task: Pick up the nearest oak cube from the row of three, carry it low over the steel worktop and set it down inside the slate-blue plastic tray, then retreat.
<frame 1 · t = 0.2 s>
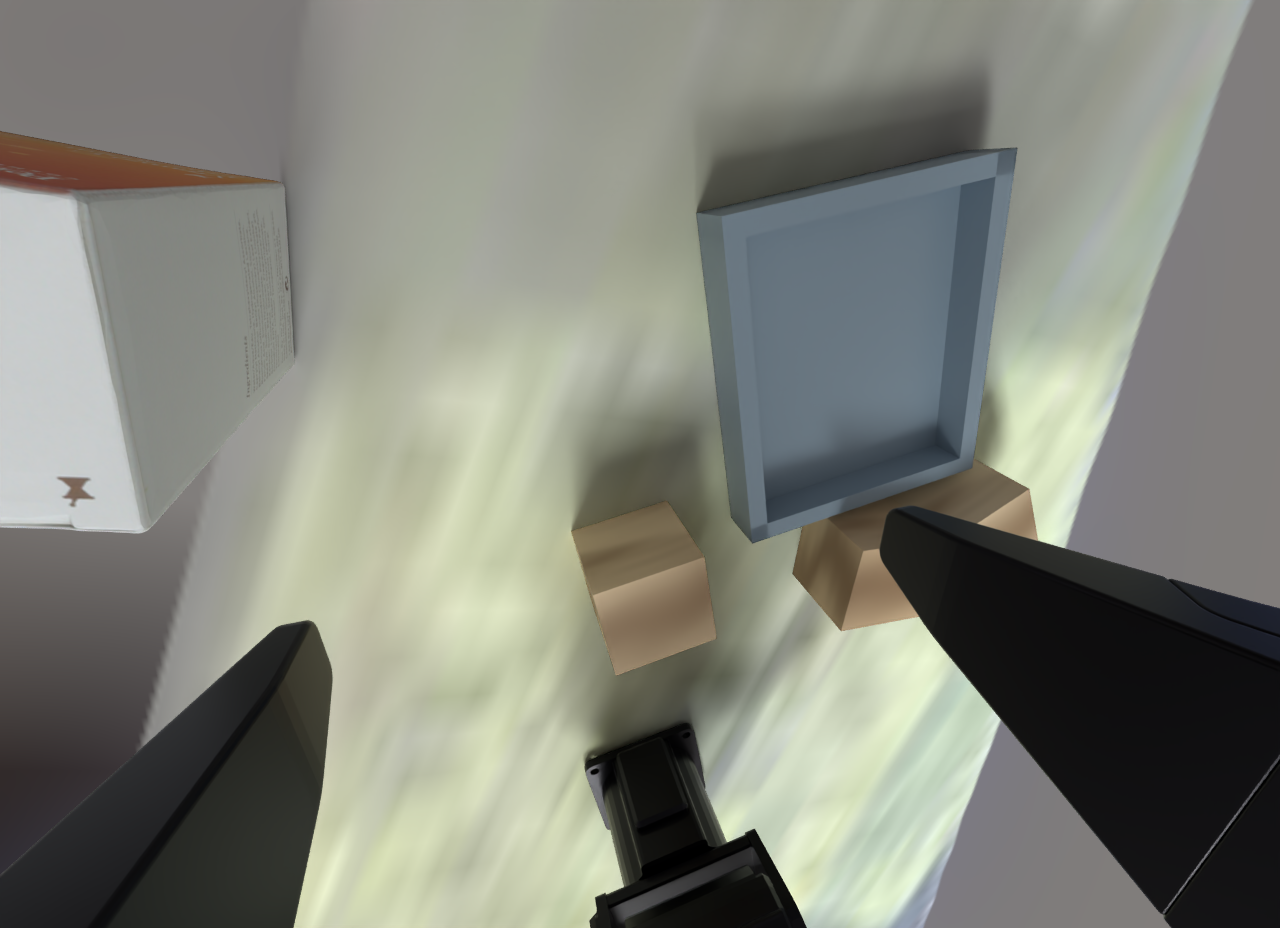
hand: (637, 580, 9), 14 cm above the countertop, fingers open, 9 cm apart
small box: (138, 256, 16), on the countertop
tray: (838, 351, 24), on the countertop
oak cube a: (628, 553, 26), on the countertop
oak cube c: (926, 500, 30), on the countertop
oak cube b: (836, 532, 30), on the countertop
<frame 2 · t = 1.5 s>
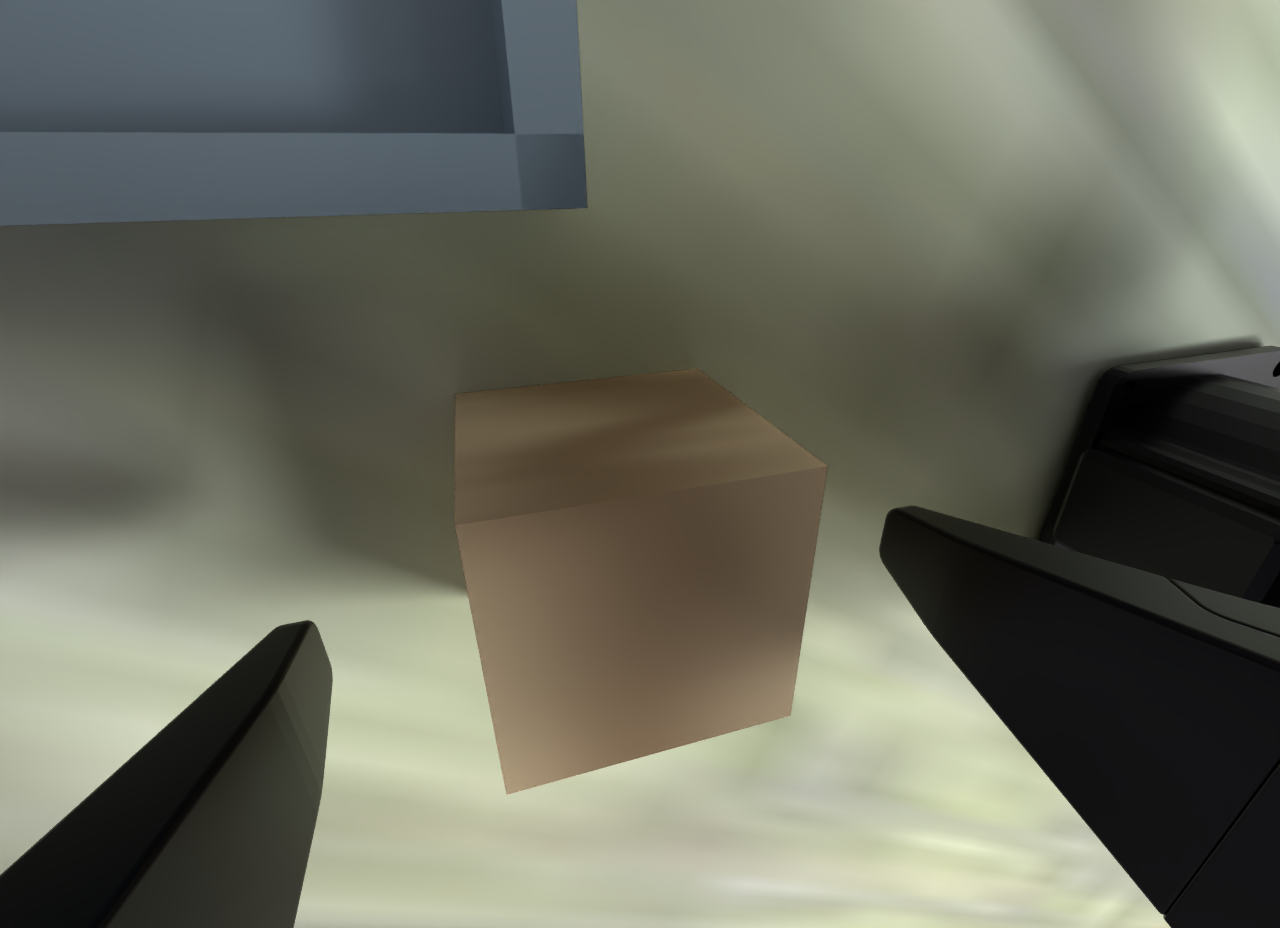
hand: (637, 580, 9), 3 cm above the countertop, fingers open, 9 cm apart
oak cube a: (588, 485, 11), on the countertop
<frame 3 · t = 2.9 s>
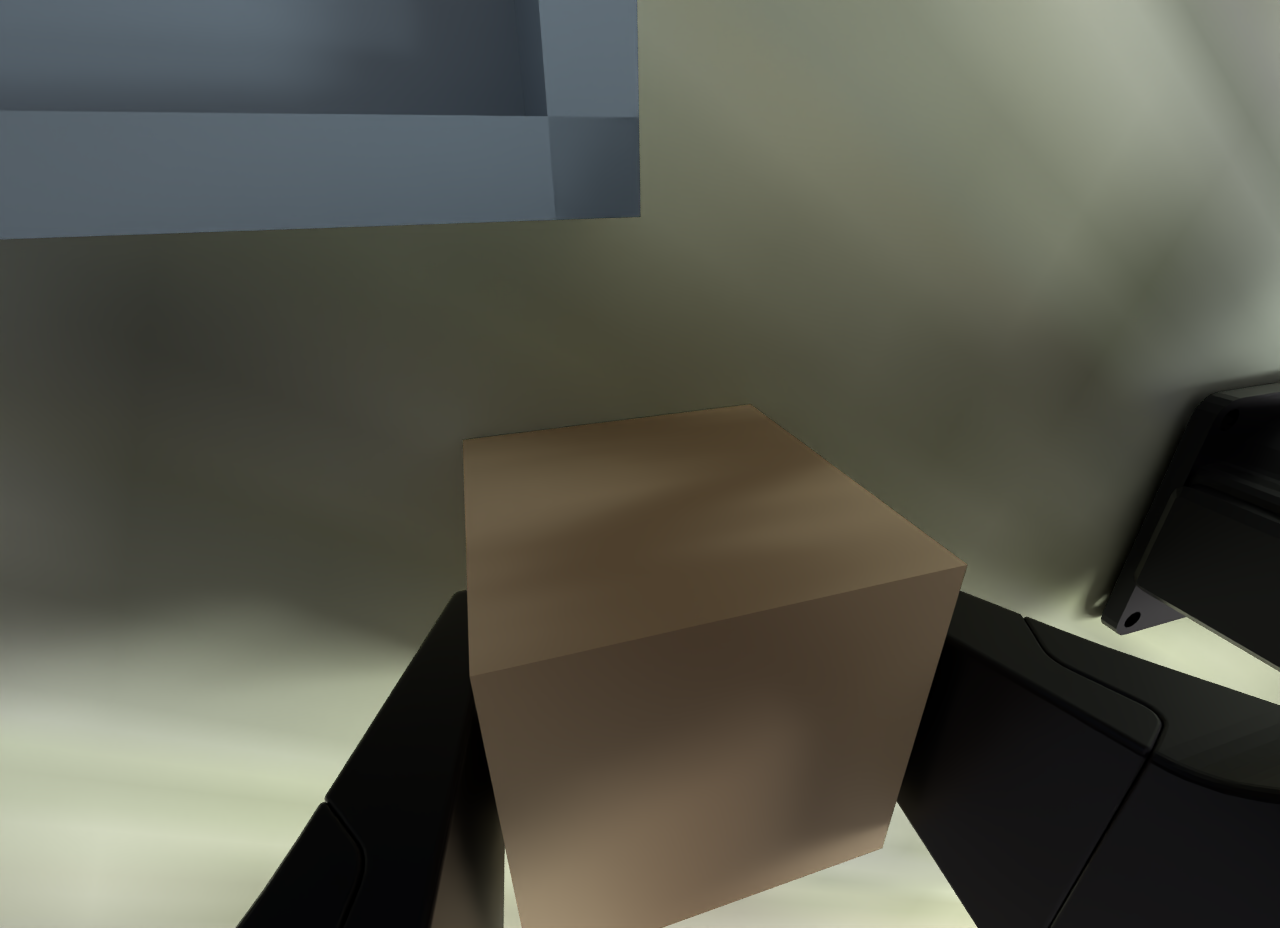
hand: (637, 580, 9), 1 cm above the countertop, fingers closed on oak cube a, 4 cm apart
oak cube a: (620, 543, 10), on the countertop, touching gripper
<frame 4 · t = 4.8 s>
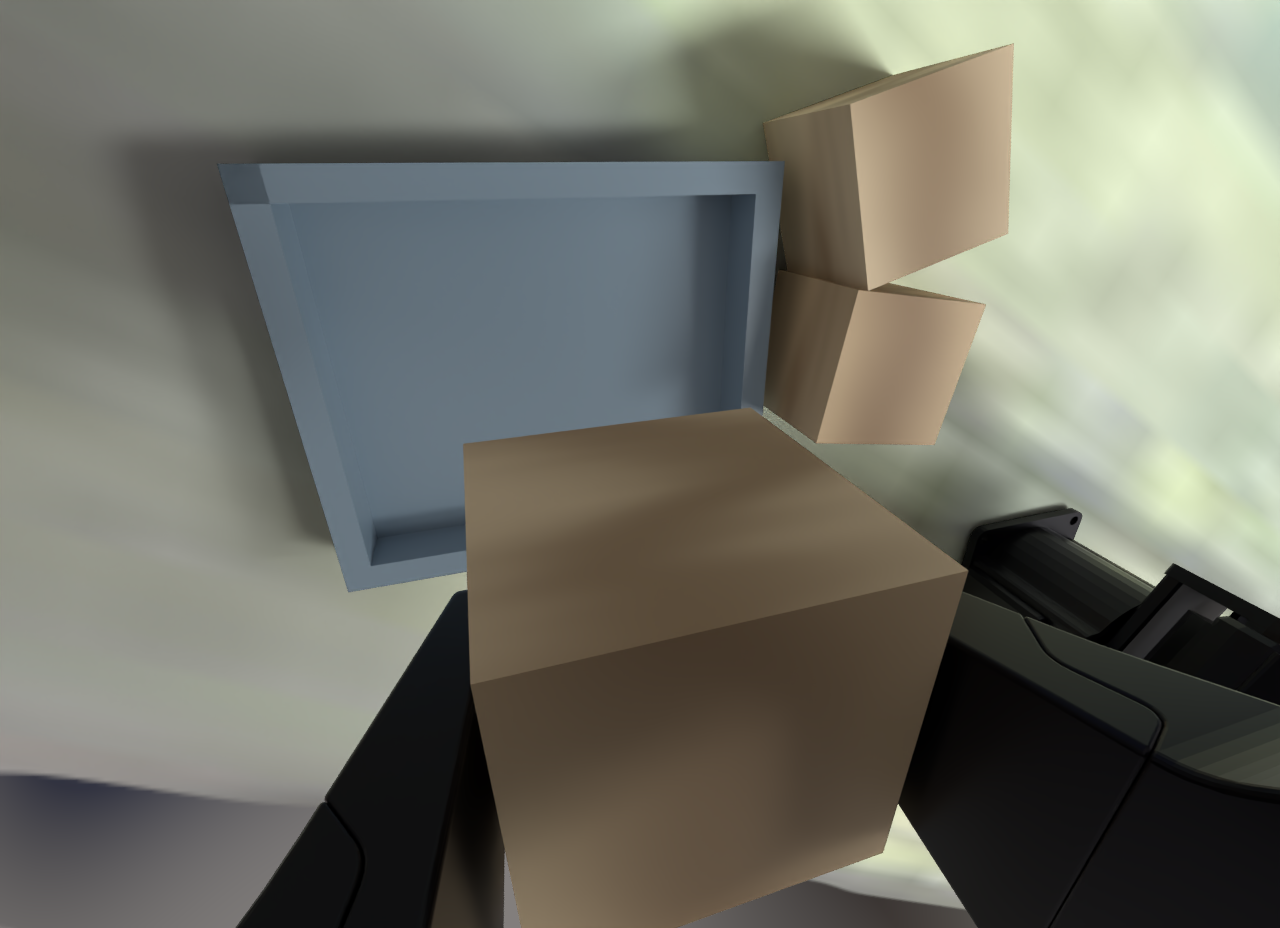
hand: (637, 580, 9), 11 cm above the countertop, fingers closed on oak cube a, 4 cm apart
tray: (544, 368, 18), on the countertop
oak cube a: (620, 546, 10), point 10 cm above the countertop, touching gripper
oak cube c: (835, 177, 18), on the countertop
oak cube b: (817, 339, 21), on the countertop
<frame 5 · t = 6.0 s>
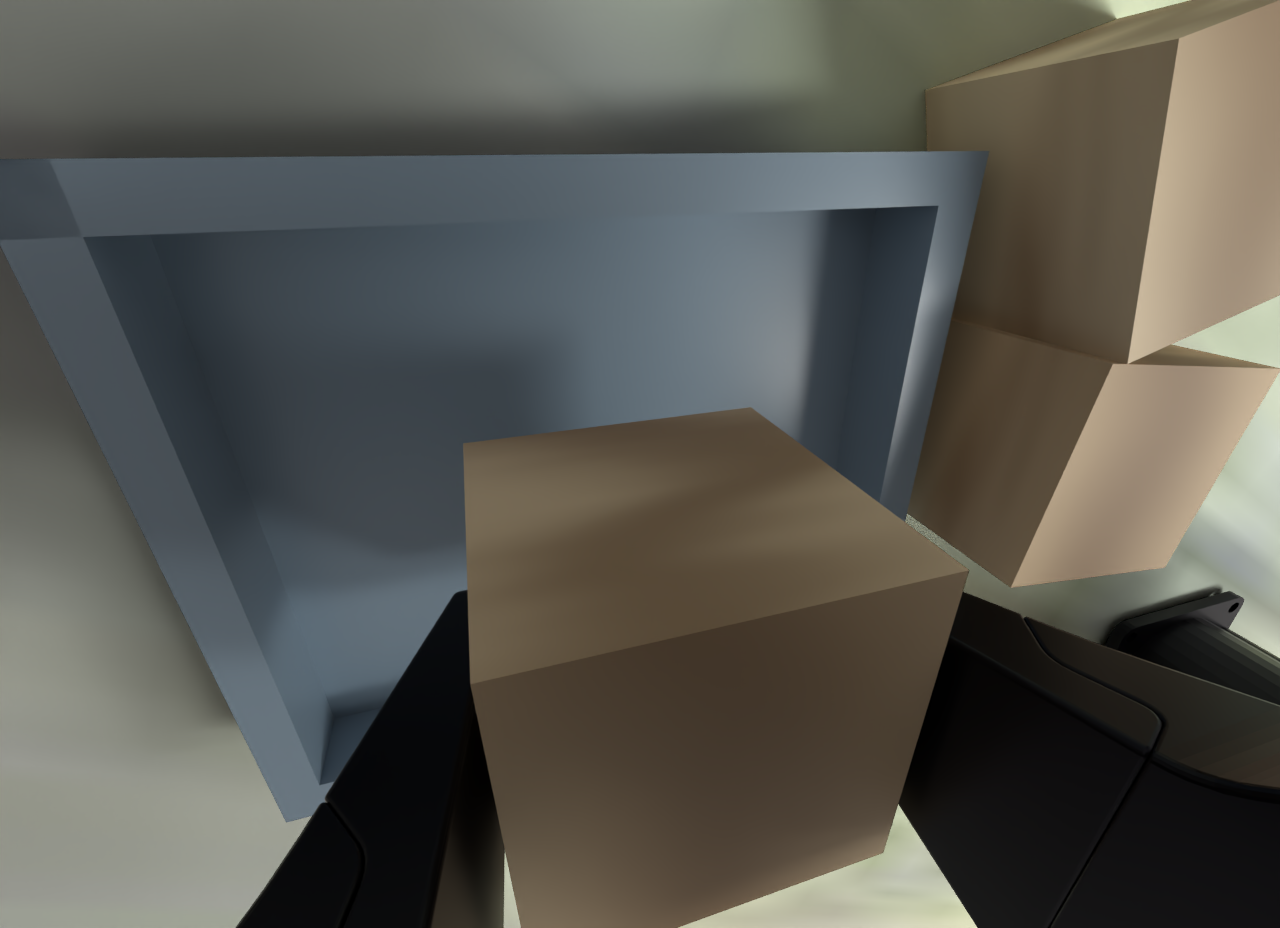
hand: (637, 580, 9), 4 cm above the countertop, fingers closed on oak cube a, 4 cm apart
tray: (582, 465, 12), on the countertop
oak cube a: (620, 546, 10), point 3 cm above the countertop, touching gripper
oak cube c: (1014, 176, 12), on the countertop
oak cube b: (961, 403, 15), on the countertop
when the fingers open (2 cm above the countertop, at t = 7.1 s): oak cube a stays where it is, resting on tray.
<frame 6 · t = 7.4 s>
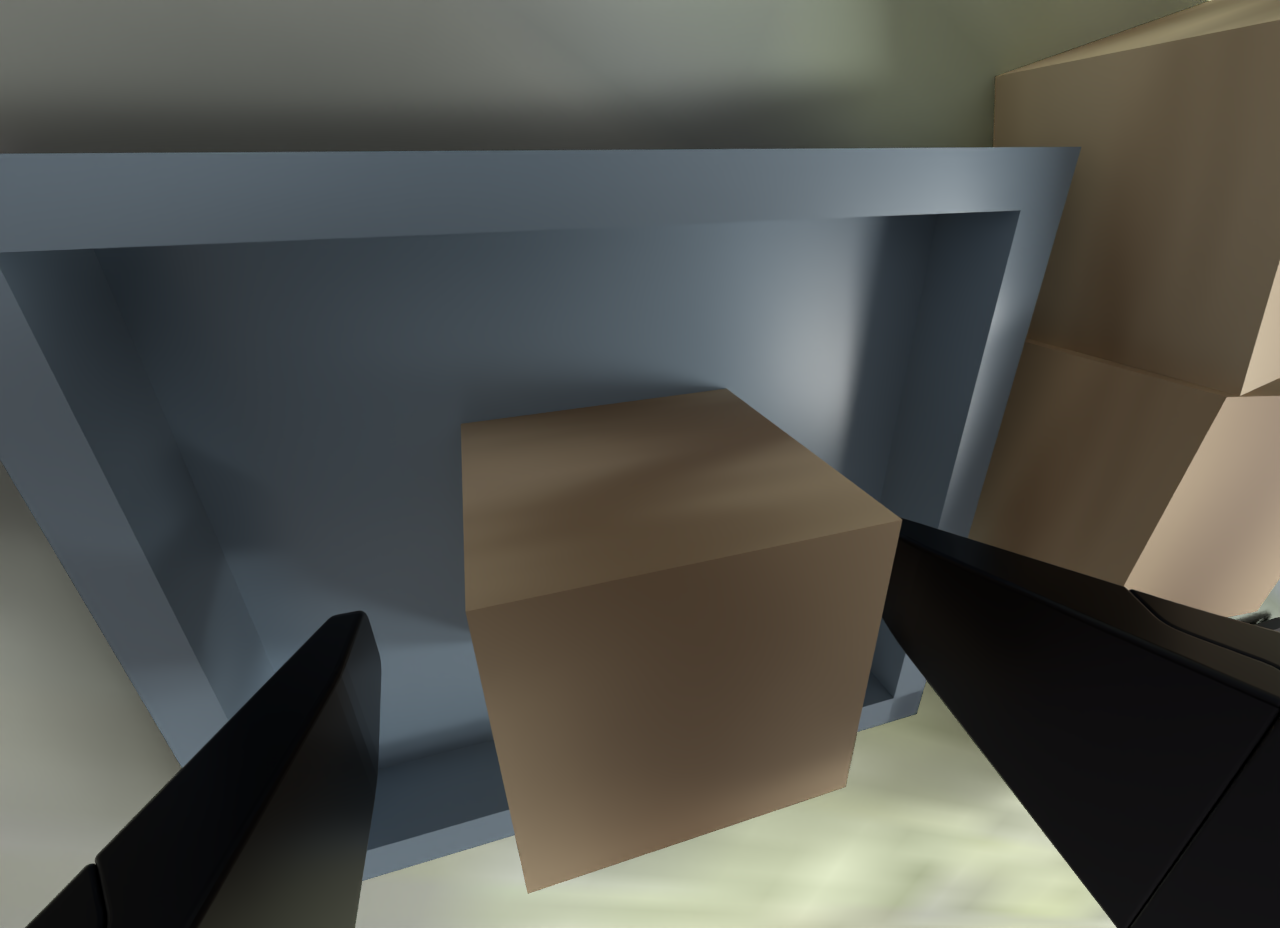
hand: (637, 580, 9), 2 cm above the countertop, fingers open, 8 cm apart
tray: (600, 501, 11), on the countertop
oak cube a: (608, 520, 10), point 1 cm above the countertop, touching tray
oak cube c: (1084, 177, 11), on the countertop
oak cube b: (1015, 424, 13), on the countertop
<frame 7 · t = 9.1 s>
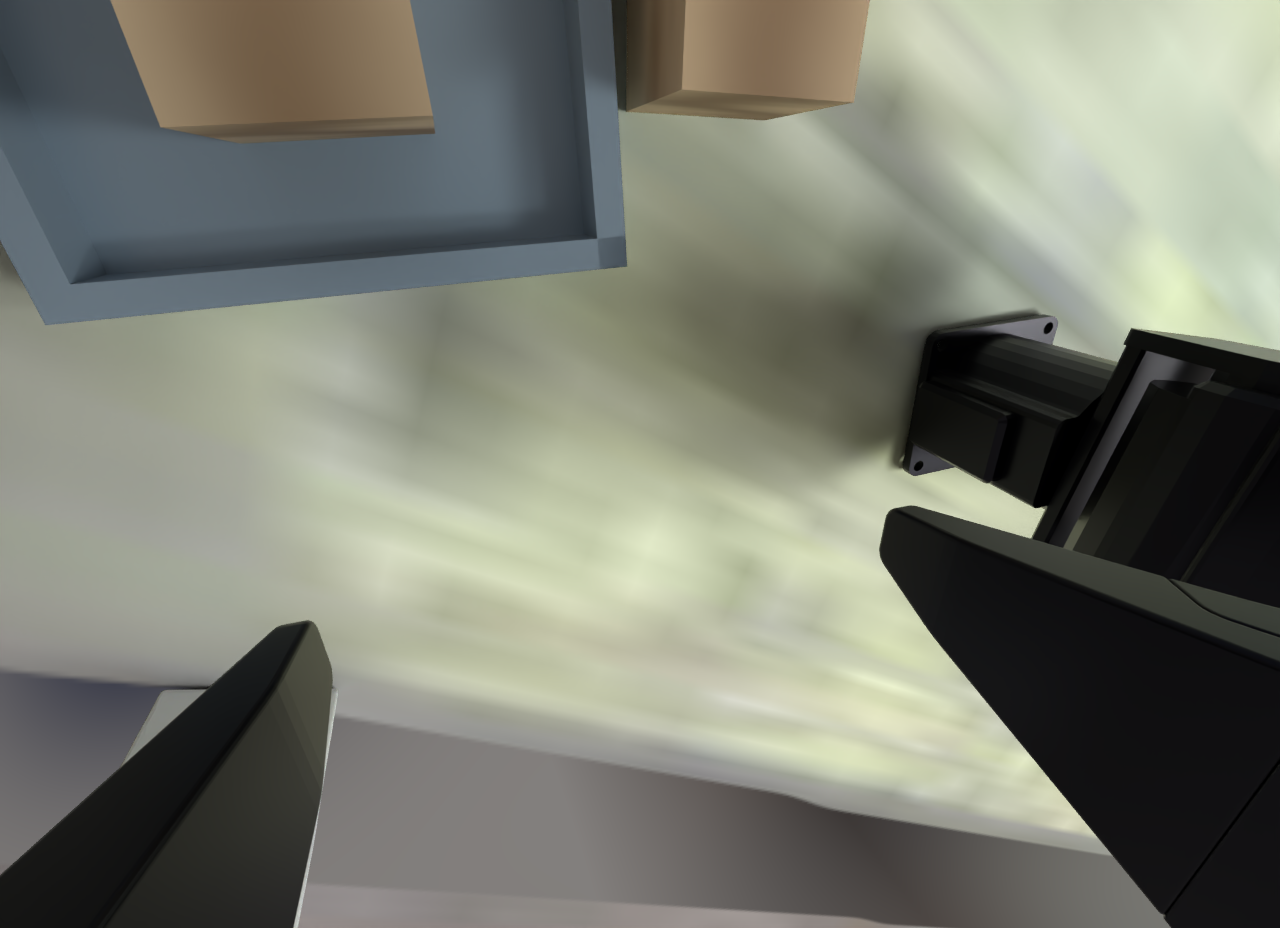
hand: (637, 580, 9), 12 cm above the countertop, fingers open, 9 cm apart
small box: (251, 757, 22), on the countertop
tray: (314, 28, 13), on the countertop
oak cube a: (311, 26, 13), point 1 cm above the countertop, touching tray
oak cube b: (702, 23, 16), on the countertop
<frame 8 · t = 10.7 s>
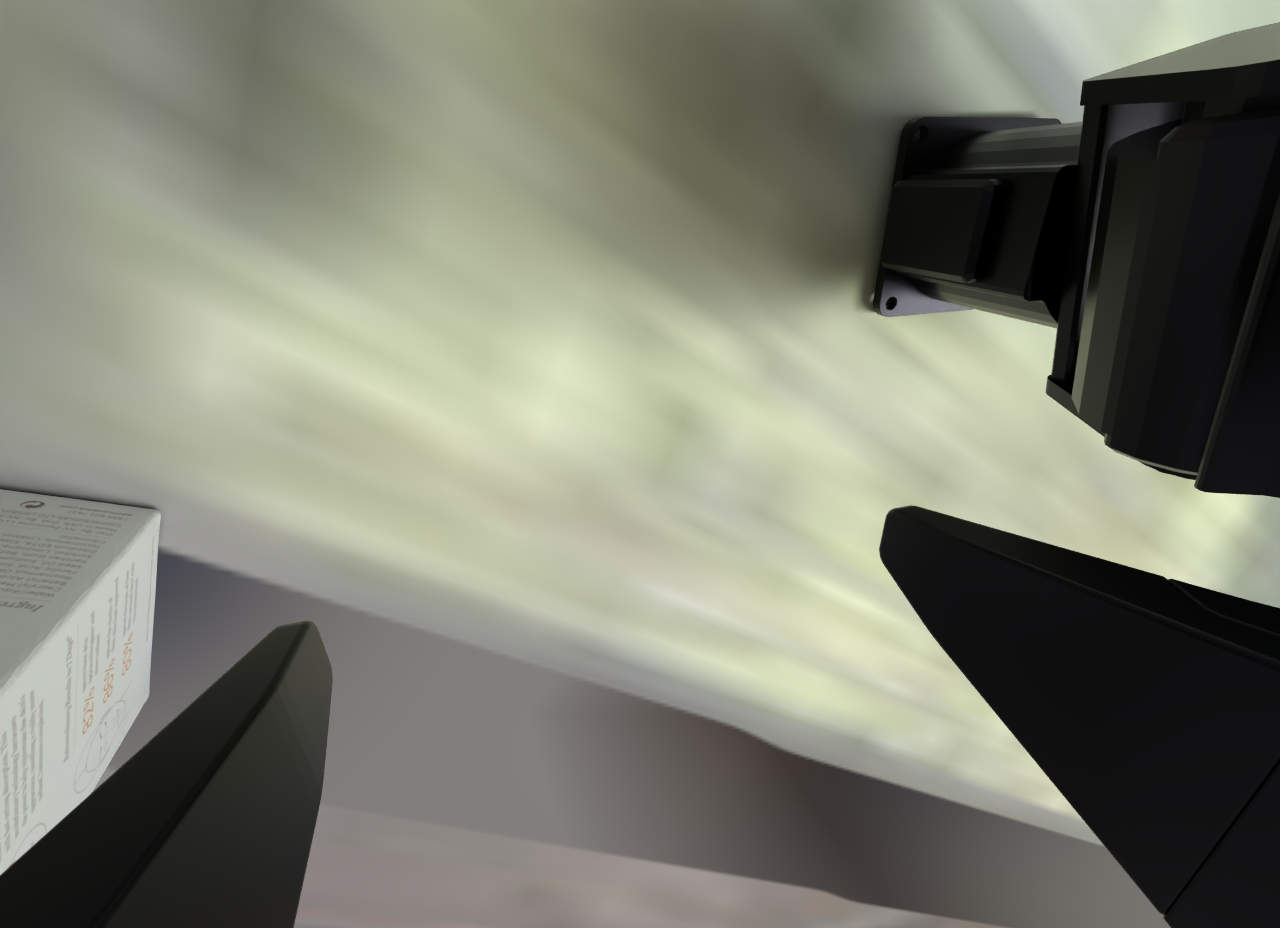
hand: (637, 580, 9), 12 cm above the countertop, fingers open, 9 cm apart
small box: (56, 595, 18), on the countertop
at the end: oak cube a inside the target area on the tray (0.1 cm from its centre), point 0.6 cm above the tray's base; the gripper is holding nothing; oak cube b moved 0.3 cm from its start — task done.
